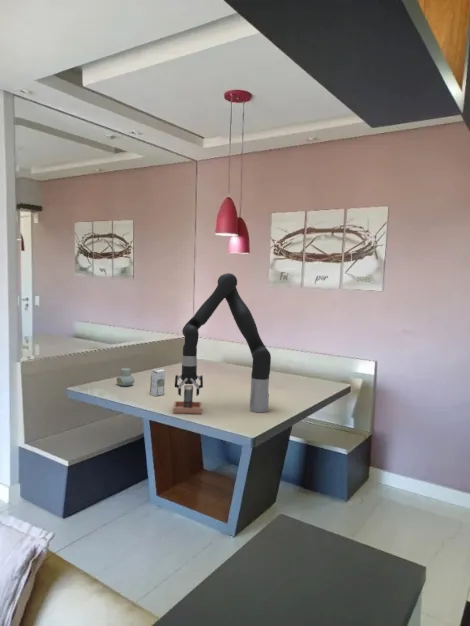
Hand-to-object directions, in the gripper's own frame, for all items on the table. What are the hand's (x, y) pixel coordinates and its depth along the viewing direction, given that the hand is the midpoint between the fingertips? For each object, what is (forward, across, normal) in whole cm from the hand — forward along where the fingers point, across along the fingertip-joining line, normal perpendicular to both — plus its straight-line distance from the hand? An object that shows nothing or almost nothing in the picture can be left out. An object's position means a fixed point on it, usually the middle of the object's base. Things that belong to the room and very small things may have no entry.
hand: (188, 395), depth 237 cm
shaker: (+7, 0, 0) cm, 7 cm away
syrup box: (+8, +18, -29) cm, 35 cm away
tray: (+8, 0, 0) cm, 8 cm away
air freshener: (+8, +39, -49) cm, 63 cm away
